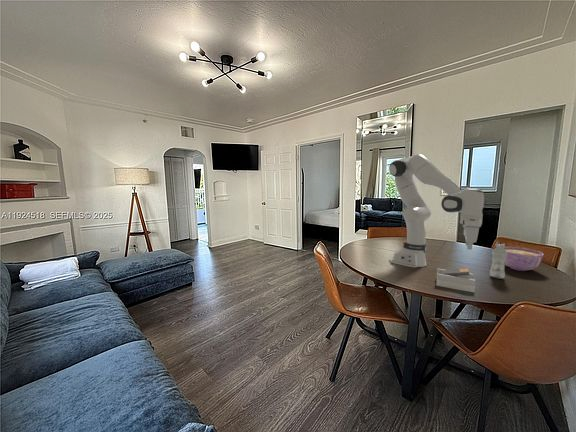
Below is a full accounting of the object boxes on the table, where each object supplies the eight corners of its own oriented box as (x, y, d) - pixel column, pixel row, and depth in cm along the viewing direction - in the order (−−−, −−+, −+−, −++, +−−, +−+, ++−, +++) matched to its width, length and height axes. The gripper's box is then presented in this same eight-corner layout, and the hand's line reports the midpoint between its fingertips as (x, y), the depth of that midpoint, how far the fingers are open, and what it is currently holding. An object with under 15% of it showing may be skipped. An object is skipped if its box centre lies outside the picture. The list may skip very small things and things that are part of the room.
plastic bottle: (496, 275, 138) (500, 242, 136) (507, 279, 132) (512, 245, 129) (486, 275, 138) (489, 242, 135) (497, 280, 131) (501, 245, 129)
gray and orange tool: (441, 276, 126) (441, 273, 126) (441, 272, 131) (441, 269, 132) (469, 275, 120) (468, 272, 120) (468, 271, 125) (467, 268, 125)
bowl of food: (551, 275, 137) (554, 256, 135) (511, 273, 141) (513, 254, 139) (524, 264, 156) (526, 247, 155) (489, 262, 160) (491, 246, 159)
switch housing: (436, 285, 126) (437, 274, 125) (436, 277, 136) (437, 267, 135) (474, 292, 117) (475, 281, 116) (471, 283, 127) (472, 273, 126)
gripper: (461, 217, 130) (459, 242, 132) (464, 223, 113) (462, 251, 115) (476, 218, 126) (473, 243, 128) (481, 224, 109) (479, 253, 111)
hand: (468, 247), depth 121 cm, fingers open, 7 cm apart
